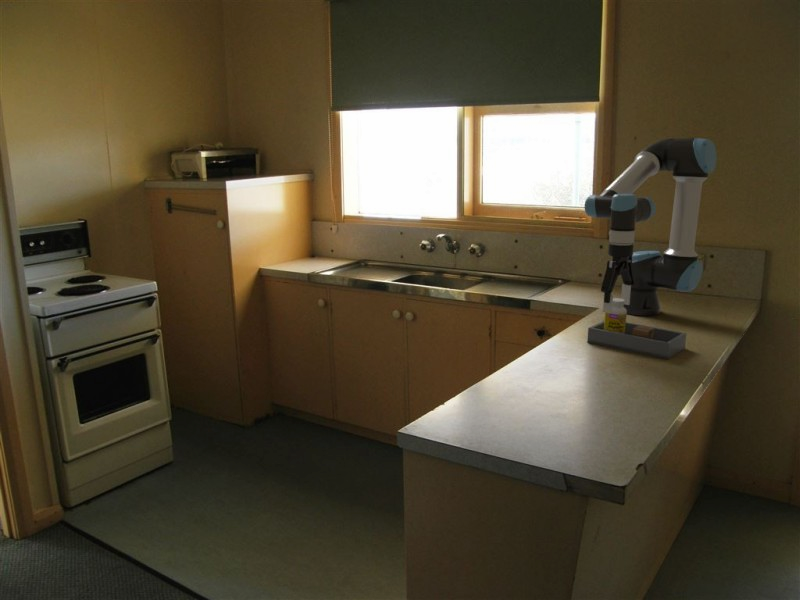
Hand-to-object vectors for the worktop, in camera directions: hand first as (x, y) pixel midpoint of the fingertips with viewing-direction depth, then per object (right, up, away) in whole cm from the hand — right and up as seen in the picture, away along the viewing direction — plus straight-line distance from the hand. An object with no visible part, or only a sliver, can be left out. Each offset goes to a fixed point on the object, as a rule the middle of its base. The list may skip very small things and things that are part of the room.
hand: (616, 308), depth 226 cm
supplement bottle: (0, -10, +2) cm, 10 cm away
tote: (+5, -12, -2) cm, 13 cm away
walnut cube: (+7, -11, -4) cm, 14 cm away
